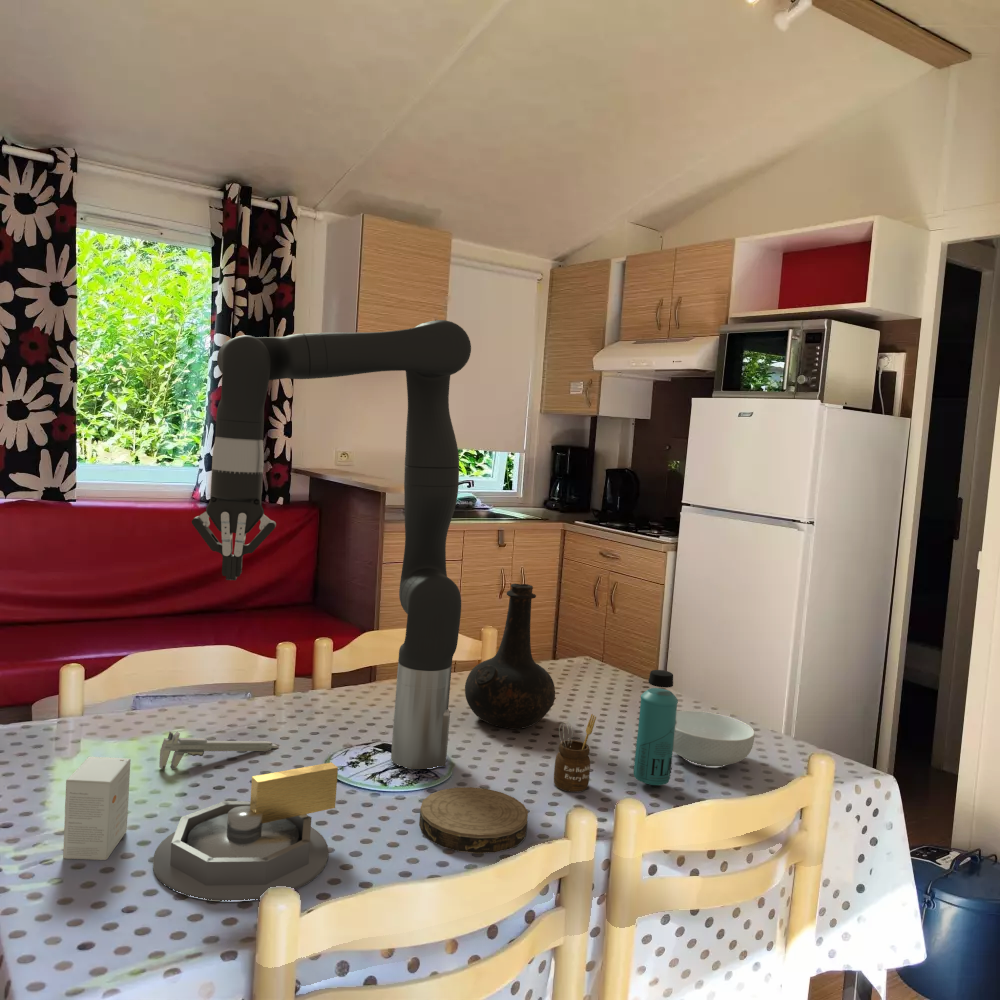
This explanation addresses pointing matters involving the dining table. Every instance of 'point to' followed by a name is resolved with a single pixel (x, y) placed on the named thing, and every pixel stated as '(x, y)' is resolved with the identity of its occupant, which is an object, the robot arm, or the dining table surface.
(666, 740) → the beverage bottle
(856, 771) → the dining table surface
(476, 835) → the wooden log slice
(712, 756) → the cereal bowl
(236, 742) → the caliper
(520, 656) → the glass bottle
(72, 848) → the small box
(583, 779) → the utensil holder
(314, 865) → the dial housing
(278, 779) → the dial
